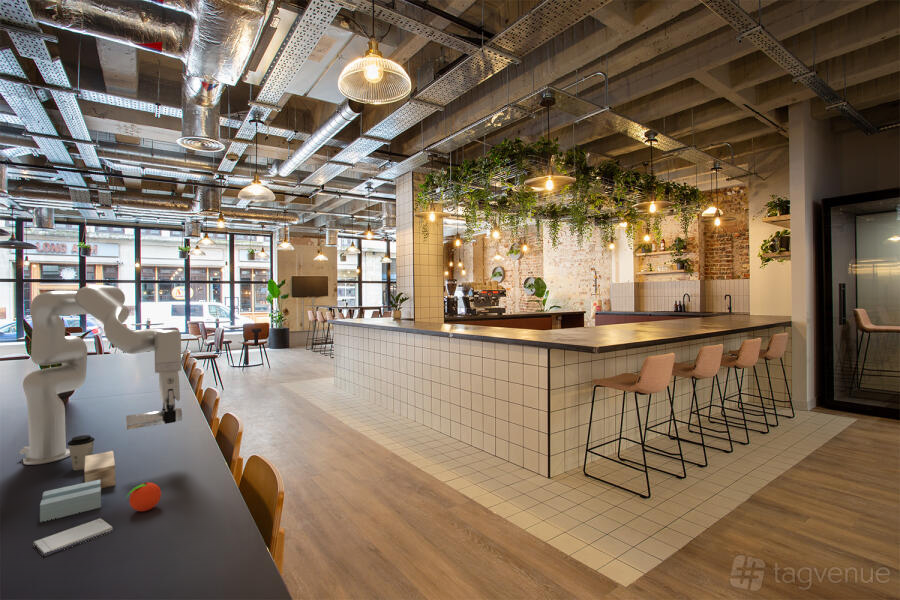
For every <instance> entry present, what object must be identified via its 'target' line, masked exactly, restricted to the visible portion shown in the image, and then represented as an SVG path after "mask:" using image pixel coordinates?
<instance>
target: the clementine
mask: <svg viewBox="0 0 900 600" xmlns="http://www.w3.org/2000/svg"><path fill="white" fill-rule="evenodd" d="M161 497H162V491H161V488H160V486H159V485H157V484H156V483H154V482H143V483H141V484H139V485H137V486H135V487H133V488H132V489H131V490H130V491H129V492H128V494H127V496H126V498H125V500H127V499H128V498H129V501H128V502H129V505H130V507H131V508H132V509H133V510H135V511H138V512H147V511H149V510H151V509H153V508H154V507H155V506H156V505H158V503H160V502H159V501H160V500H161Z"/></svg>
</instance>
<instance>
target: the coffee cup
mask: <svg viewBox="0 0 900 600" xmlns="http://www.w3.org/2000/svg"><path fill="white" fill-rule="evenodd" d="M94 442H95V438H94V437H92V435H89V434H85V435H77V436H74V437H72V438H71V440H69V441H68V442H67V446H68V449H69V450H70V456H69V457H70V460H71V465H72V470H73V471H79V470H85V456H88V455H93V452H94Z"/></svg>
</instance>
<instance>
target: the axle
mask: <svg viewBox="0 0 900 600" xmlns="http://www.w3.org/2000/svg"><path fill="white" fill-rule="evenodd" d="M175 410H176V422H175V423H177V422H182V421H183V411H182V407H178V408H176V407H175ZM164 411H165V410H163V411H162V410H158V411H157V410H155V411H150V412H143V413H136V414H128V415H126V416H125V429H126V431H128V430H129V431H130V430H135V429H140V428H146V427H153V426H158V425H164V424H165V423H164Z"/></svg>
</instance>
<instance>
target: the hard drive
mask: <svg viewBox="0 0 900 600" xmlns="http://www.w3.org/2000/svg"><path fill="white" fill-rule="evenodd" d="M113 529H114V528H113V526H112V525H110V524H109V523H108V522H106V521H105V520H104V519H102V518H97V519H94V520H92V521H89V522H86V523H82V524H80V525H76V526H75V527H71V528H68V529H66V530H65V529H64V530H63V531H60V532H57V533H54V534H52V535H49V536H45V537H44V538H43V537H42V538H41V539H37V540H34V541H33V544H34V543H35V545H37V547H38V548H39V549H40V550H41V551H42V552H43V553H44V554H45V553H47V552H50V551H54V550H57V549H60V548H63V547H66V546H68V545H71V544H73V543H76V542H79V541H82V540H85V539H87V538H90V537H93V536H96V535H99V534H101V533H104V532H108V531H110V530H113ZM113 531H114V530H113Z"/></svg>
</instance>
